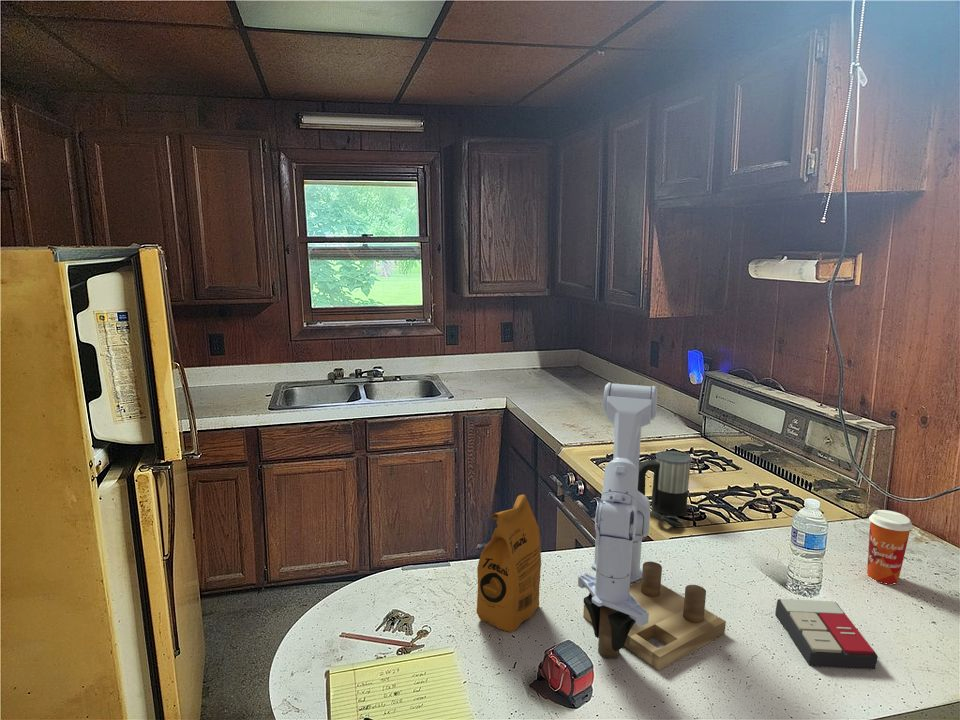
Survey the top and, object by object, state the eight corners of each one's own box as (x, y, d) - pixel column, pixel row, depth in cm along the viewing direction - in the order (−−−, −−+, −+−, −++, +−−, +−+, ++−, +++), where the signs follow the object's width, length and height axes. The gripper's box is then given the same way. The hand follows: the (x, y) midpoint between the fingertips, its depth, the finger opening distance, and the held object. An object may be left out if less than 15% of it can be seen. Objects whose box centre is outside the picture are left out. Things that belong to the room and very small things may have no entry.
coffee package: (467, 618, 119) (468, 509, 115) (504, 589, 129) (506, 487, 125) (512, 638, 113) (515, 524, 109) (547, 606, 123) (550, 500, 119)
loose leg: (593, 650, 110) (595, 608, 109) (608, 642, 112) (610, 602, 111) (608, 661, 107) (611, 619, 106) (623, 654, 109) (626, 612, 108)
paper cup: (857, 578, 135) (865, 516, 132) (866, 564, 140) (874, 505, 137) (900, 592, 129) (910, 528, 127) (907, 577, 135) (917, 516, 132)
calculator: (812, 649, 106) (777, 595, 121) (808, 671, 107) (774, 614, 122) (880, 652, 105) (836, 597, 120) (875, 674, 107) (833, 617, 121)
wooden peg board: (583, 616, 120) (585, 578, 118) (647, 588, 130) (650, 552, 128) (658, 670, 105) (661, 627, 104) (724, 633, 115) (728, 593, 114)
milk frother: (674, 500, 173) (678, 448, 170) (711, 525, 158) (716, 469, 155) (628, 506, 169) (631, 453, 166) (662, 533, 154) (666, 475, 151)
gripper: (566, 558, 110) (563, 628, 113) (629, 597, 99) (624, 674, 101) (595, 547, 114) (592, 615, 117) (659, 583, 103) (654, 658, 105)
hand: (609, 641), depth 109 cm, fingers closed on loose leg, 4 cm apart
